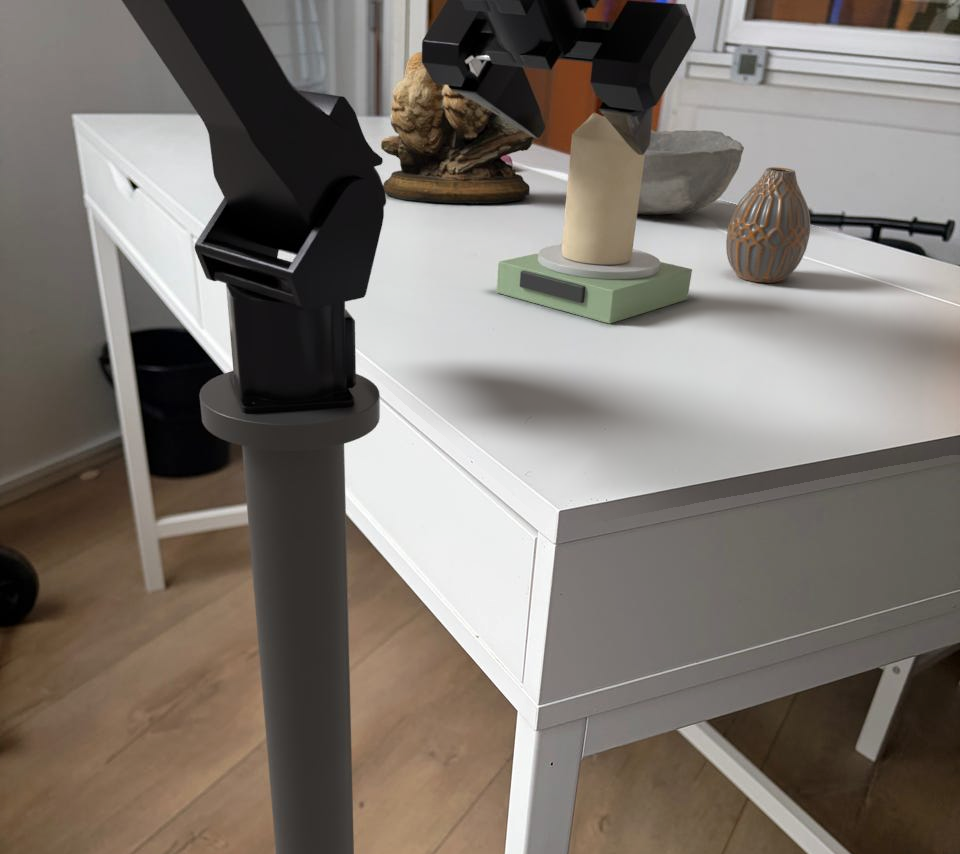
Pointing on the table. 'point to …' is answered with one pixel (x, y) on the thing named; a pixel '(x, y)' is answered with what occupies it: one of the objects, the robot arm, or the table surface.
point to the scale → (594, 284)
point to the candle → (601, 195)
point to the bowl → (686, 170)
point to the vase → (769, 228)
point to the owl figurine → (450, 145)
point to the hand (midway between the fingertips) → (590, 141)
